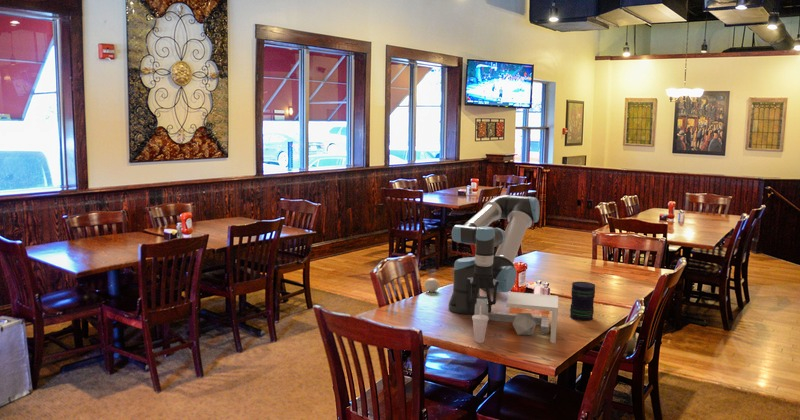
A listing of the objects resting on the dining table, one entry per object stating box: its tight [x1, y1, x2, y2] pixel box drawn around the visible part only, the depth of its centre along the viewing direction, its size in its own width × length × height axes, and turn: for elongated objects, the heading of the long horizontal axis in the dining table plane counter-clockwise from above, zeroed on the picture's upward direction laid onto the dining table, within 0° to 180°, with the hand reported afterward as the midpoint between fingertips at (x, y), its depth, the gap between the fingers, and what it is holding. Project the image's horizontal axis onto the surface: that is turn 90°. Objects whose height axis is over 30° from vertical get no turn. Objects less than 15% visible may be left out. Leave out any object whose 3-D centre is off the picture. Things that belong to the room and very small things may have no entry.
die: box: [512, 312, 537, 336], centre depth 273 cm, size 8×9×10 cm
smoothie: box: [471, 305, 490, 344], centre depth 261 cm, size 6×6×14 cm
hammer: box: [476, 295, 550, 335], centre depth 283 cm, size 30×14×11 cm, turn 77°
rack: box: [505, 291, 559, 344], centre depth 273 cm, size 20×18×14 cm
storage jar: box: [569, 281, 596, 322], centre depth 296 cm, size 10×10×15 cm
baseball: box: [423, 277, 440, 293], centre depth 332 cm, size 7×7×7 cm
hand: (481, 319), depth 285 cm, fingers closed on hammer, 4 cm apart
